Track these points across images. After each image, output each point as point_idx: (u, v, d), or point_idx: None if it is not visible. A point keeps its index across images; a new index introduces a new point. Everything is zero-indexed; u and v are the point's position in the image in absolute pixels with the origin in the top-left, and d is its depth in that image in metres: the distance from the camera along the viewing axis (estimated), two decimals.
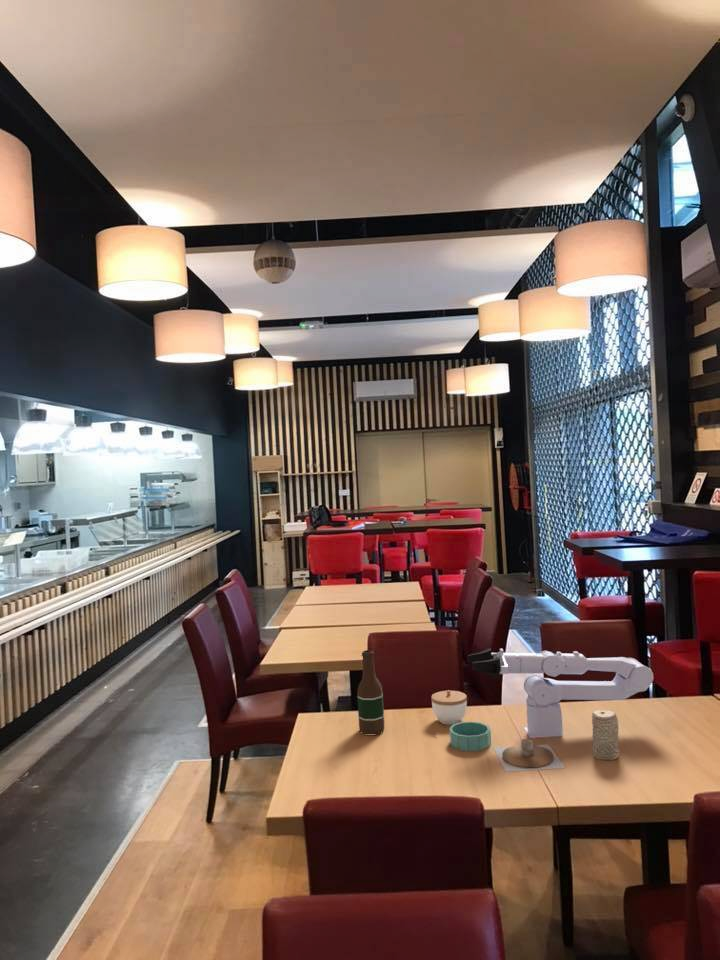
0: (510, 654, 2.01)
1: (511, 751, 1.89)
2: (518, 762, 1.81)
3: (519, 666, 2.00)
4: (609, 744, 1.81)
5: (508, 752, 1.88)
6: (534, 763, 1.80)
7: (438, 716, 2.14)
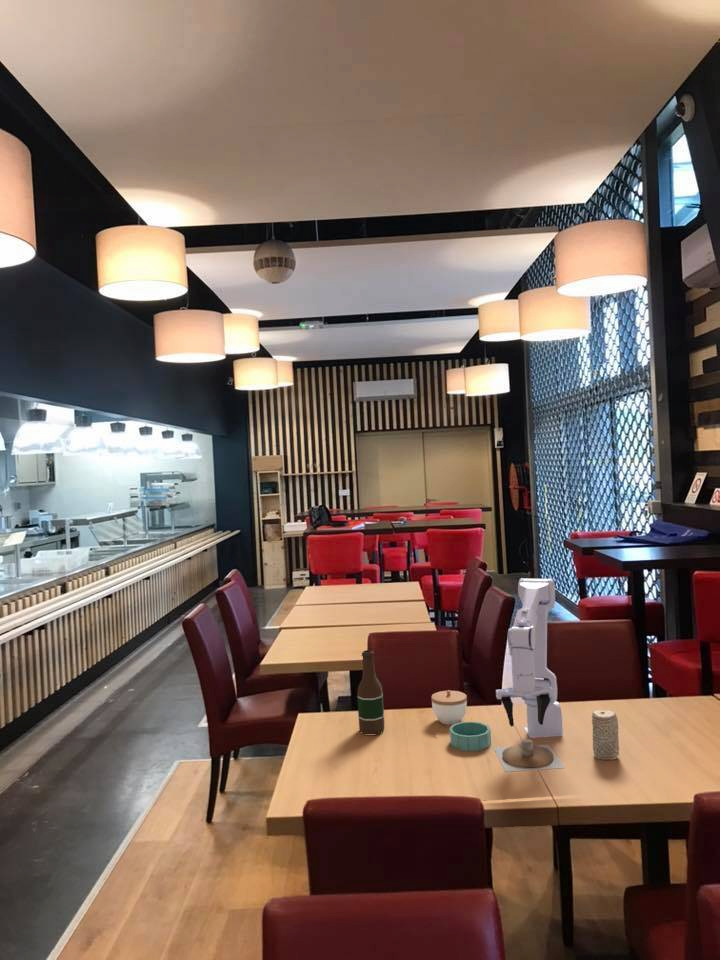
0: (529, 684, 1.83)
1: (511, 751, 1.89)
2: (518, 762, 1.81)
3: None
4: (609, 744, 1.81)
5: (508, 752, 1.88)
6: (534, 763, 1.80)
7: (438, 716, 2.14)
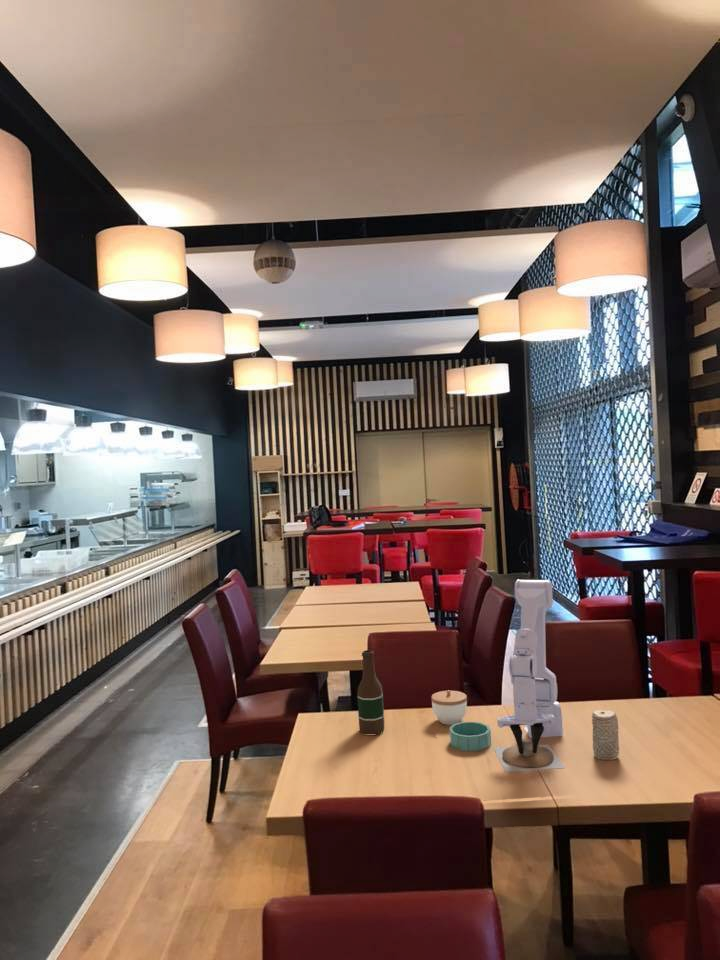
0: (531, 712, 1.83)
1: (511, 751, 1.89)
2: (518, 762, 1.81)
3: None
4: (609, 744, 1.81)
5: (508, 752, 1.88)
6: (534, 763, 1.80)
7: (438, 716, 2.14)
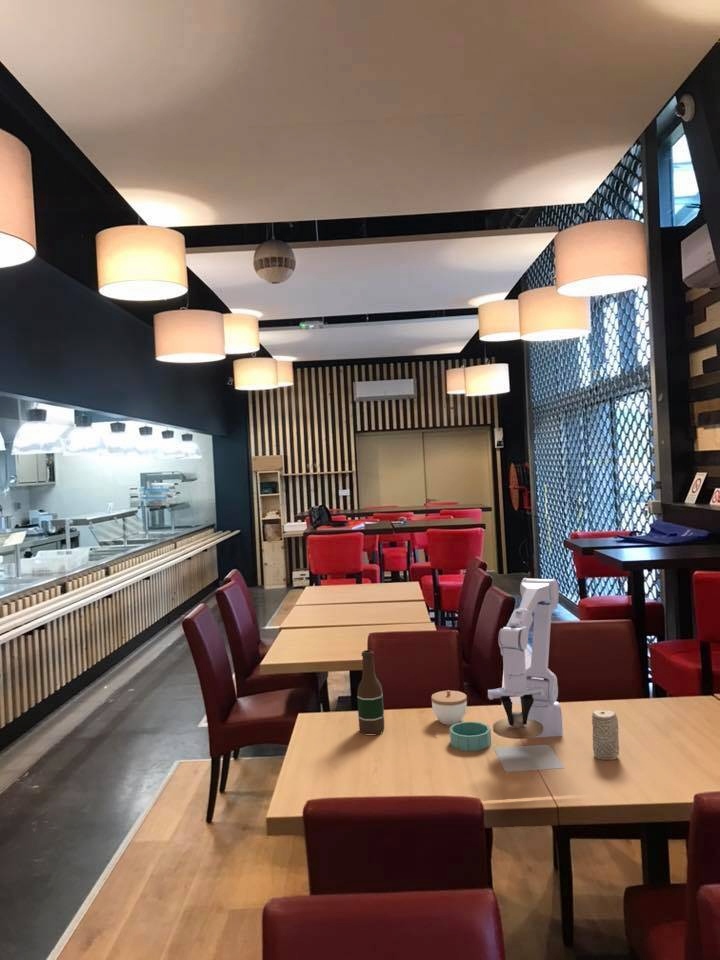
0: (521, 684, 1.85)
1: (501, 723, 1.90)
2: (508, 733, 1.83)
3: None
4: (609, 744, 1.81)
5: (498, 725, 1.89)
6: (524, 734, 1.82)
7: (438, 716, 2.14)
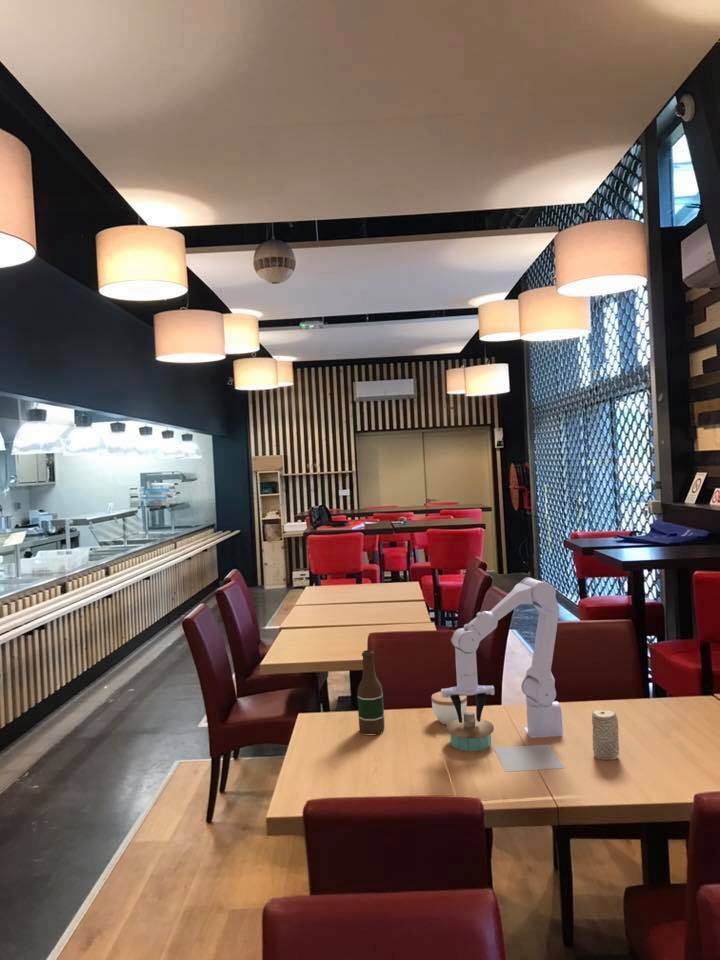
0: (471, 683, 1.95)
1: (454, 723, 2.00)
2: (461, 733, 1.93)
3: None
4: (609, 744, 1.81)
5: (452, 725, 1.99)
6: (475, 733, 1.92)
7: (438, 716, 2.14)
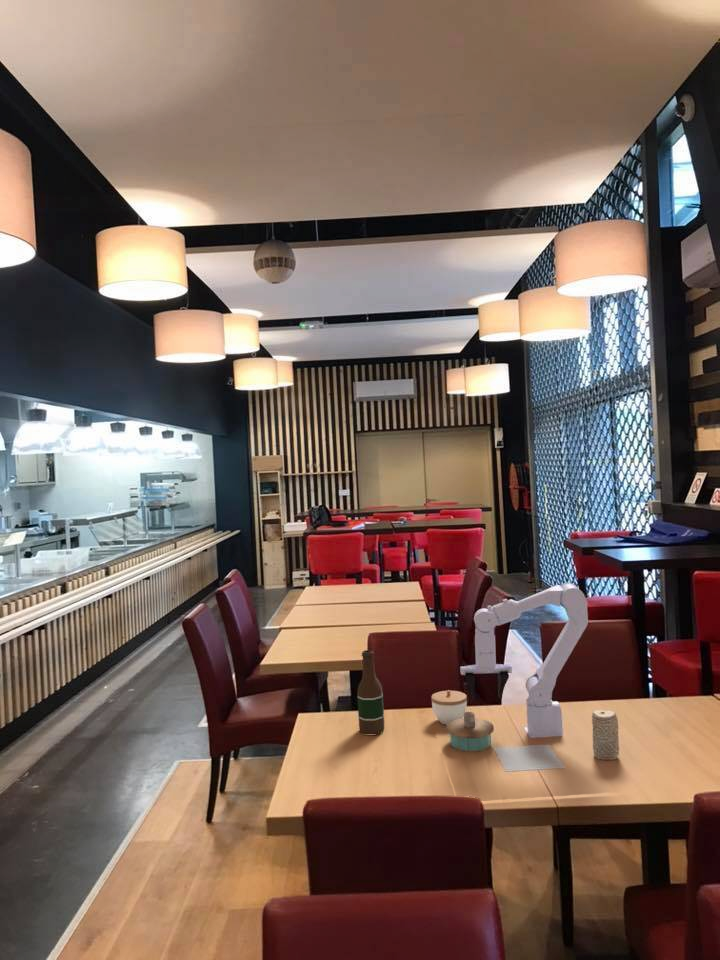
0: (490, 661, 2.02)
1: (454, 723, 2.00)
2: (461, 733, 1.93)
3: None
4: (609, 744, 1.81)
5: (452, 725, 1.99)
6: (475, 733, 1.92)
7: (438, 716, 2.14)
